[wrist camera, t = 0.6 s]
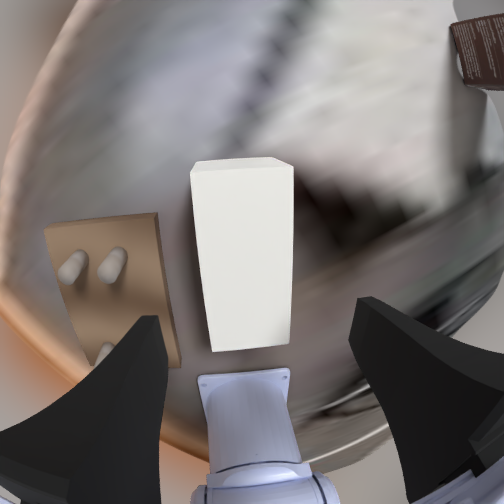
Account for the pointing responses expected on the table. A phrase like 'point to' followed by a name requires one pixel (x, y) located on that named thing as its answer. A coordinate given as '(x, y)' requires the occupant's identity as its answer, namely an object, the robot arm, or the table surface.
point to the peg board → (112, 280)
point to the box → (481, 51)
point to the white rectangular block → (245, 249)
